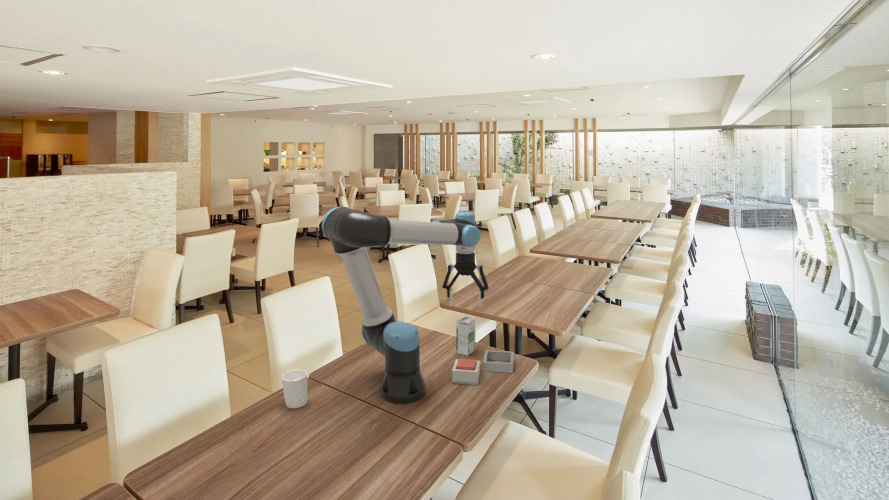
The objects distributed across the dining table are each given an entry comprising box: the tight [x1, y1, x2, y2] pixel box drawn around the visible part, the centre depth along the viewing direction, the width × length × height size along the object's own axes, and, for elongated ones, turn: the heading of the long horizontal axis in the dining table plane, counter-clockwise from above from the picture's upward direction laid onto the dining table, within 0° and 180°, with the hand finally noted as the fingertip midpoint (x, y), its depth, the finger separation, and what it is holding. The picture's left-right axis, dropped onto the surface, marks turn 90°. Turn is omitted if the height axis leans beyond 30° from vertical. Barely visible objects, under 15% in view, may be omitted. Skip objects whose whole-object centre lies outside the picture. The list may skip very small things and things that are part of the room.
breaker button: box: [456, 358, 477, 371], centre depth 164 cm, size 6×6×5 cm
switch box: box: [451, 358, 481, 386], centre depth 165 cm, size 9×9×5 cm
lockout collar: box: [482, 349, 515, 374], centre depth 174 cm, size 11×11×4 cm
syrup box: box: [455, 315, 476, 357], centre depth 185 cm, size 6×6×14 cm
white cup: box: [280, 369, 308, 409], centre depth 149 cm, size 8×8×10 cm
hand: (465, 305), depth 183 cm, fingers open, 11 cm apart
